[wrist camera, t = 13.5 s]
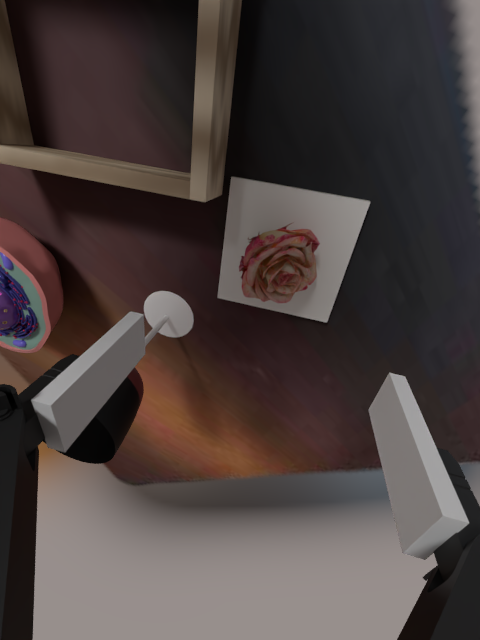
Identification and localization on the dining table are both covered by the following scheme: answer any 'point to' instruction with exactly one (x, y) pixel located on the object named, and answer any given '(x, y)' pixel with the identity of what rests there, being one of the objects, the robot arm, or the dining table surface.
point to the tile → (282, 209)
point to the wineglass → (130, 385)
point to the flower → (279, 264)
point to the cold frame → (201, 185)
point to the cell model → (27, 290)
